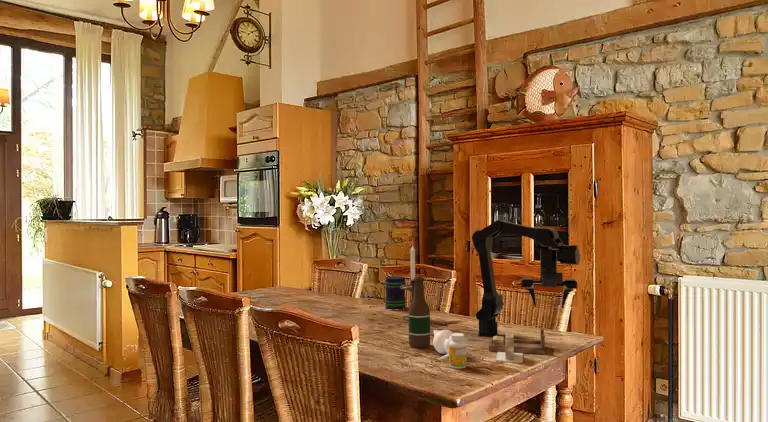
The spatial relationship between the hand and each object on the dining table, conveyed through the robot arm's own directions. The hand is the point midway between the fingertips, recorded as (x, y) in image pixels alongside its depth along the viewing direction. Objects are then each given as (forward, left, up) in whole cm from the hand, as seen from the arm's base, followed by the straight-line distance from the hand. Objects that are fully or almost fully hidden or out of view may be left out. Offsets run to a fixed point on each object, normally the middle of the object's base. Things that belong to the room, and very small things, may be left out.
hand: (548, 307), depth 195 cm
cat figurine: (-33, -24, -13) cm, 43 cm away
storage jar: (-68, +53, -13) cm, 88 cm away
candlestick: (-55, +30, -13) cm, 64 cm away
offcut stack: (-17, -11, -12) cm, 23 cm away
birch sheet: (-13, -23, -12) cm, 29 cm away
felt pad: (-13, -23, -12) cm, 29 cm away
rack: (-11, -11, -12) cm, 20 cm away
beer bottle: (-44, -14, -13) cm, 48 cm away
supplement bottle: (-28, -36, -13) cm, 47 cm away
